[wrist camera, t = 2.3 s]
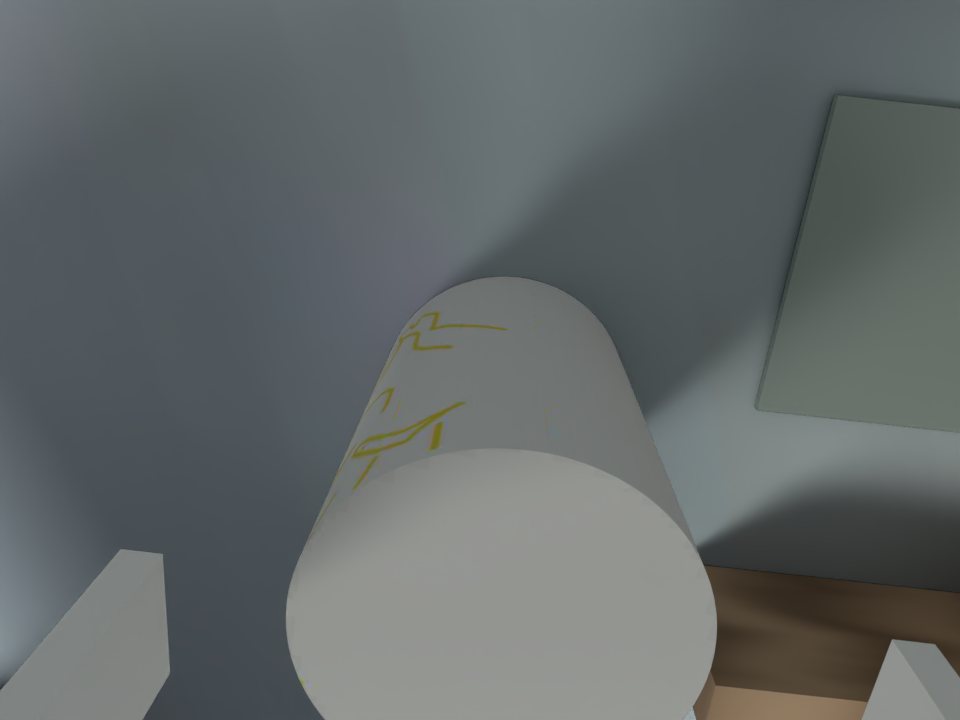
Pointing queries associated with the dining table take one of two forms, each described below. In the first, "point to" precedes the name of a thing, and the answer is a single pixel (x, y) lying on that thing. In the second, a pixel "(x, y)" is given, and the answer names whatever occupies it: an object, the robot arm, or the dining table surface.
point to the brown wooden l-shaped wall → (812, 643)
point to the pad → (875, 274)
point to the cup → (502, 532)
